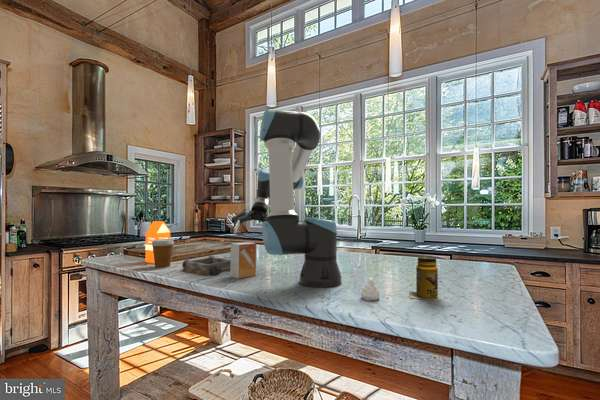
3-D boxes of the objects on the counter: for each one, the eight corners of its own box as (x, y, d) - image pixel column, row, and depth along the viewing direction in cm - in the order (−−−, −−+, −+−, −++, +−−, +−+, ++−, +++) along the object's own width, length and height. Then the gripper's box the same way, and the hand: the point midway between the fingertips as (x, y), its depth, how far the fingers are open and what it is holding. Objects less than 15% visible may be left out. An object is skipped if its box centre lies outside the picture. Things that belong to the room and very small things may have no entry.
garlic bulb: (381, 280, 90) (363, 280, 90) (381, 300, 90) (363, 301, 90) (376, 276, 95) (358, 276, 95) (376, 295, 95) (359, 295, 95)
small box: (238, 279, 116) (239, 244, 116) (229, 276, 121) (230, 243, 121) (256, 275, 122) (256, 242, 122) (247, 273, 126) (247, 241, 126)
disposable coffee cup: (168, 268, 135) (168, 241, 136) (146, 268, 135) (147, 241, 136) (177, 264, 145) (177, 239, 145) (157, 264, 145) (157, 239, 145)
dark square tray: (245, 268, 136) (245, 259, 136) (211, 276, 120) (211, 266, 121) (215, 263, 147) (215, 255, 148) (180, 270, 132) (180, 260, 132)
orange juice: (156, 263, 147) (156, 221, 148) (145, 261, 152) (145, 221, 152) (170, 261, 154) (170, 221, 154) (159, 259, 159) (159, 220, 159)
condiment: (440, 301, 89) (440, 260, 90) (409, 298, 92) (409, 258, 92) (437, 294, 96) (437, 256, 97) (408, 292, 99) (408, 254, 99)
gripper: (285, 218, 148) (279, 245, 130) (234, 210, 148) (221, 236, 129) (287, 205, 145) (281, 230, 126) (234, 197, 144) (221, 221, 126)
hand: (251, 233), depth 128 cm, fingers open, 13 cm apart
